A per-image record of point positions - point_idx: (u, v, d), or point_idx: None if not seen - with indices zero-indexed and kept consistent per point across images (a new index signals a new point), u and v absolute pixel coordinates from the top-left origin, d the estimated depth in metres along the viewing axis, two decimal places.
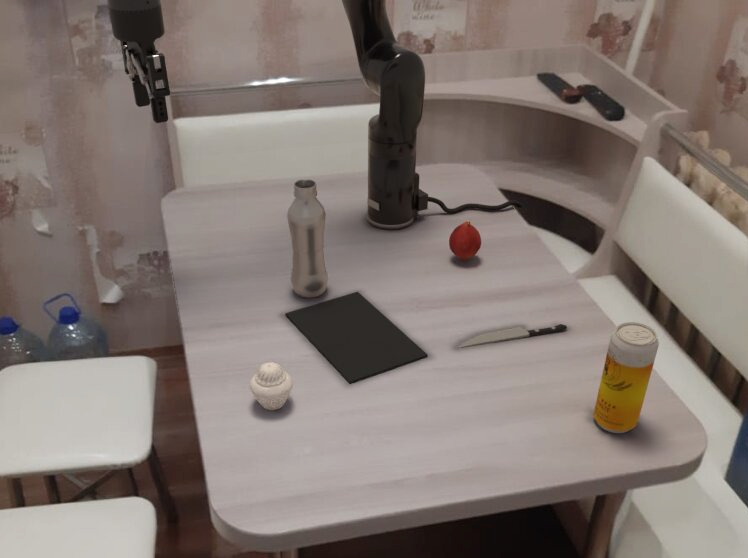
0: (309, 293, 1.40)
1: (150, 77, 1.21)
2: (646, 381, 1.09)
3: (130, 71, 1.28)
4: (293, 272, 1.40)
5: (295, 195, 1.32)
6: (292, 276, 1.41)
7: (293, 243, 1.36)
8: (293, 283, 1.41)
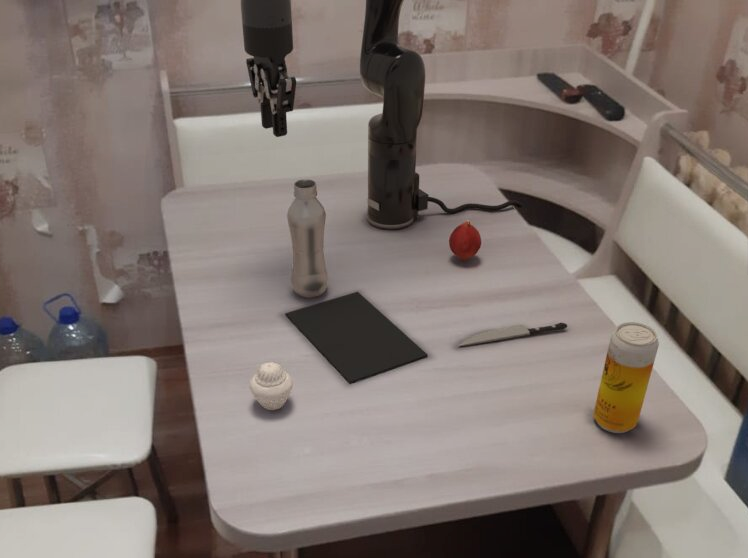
0: (309, 293, 1.40)
1: (279, 97, 1.27)
2: (646, 381, 1.09)
3: (259, 89, 1.32)
4: (293, 272, 1.40)
5: (295, 195, 1.32)
6: (292, 276, 1.41)
7: (293, 243, 1.36)
8: (293, 283, 1.41)
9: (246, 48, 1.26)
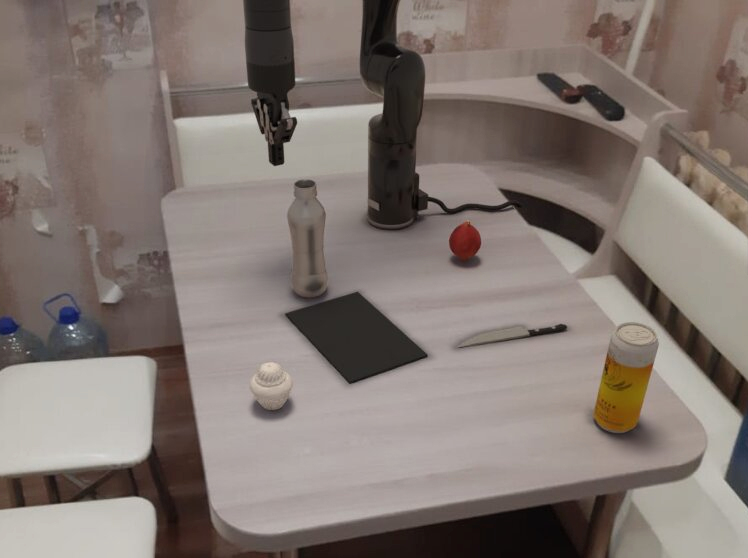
0: (309, 293, 1.40)
1: (278, 132, 1.31)
2: (646, 381, 1.09)
3: (264, 124, 1.34)
4: (293, 272, 1.40)
5: (295, 195, 1.32)
6: (292, 276, 1.41)
7: (293, 243, 1.36)
8: (293, 283, 1.41)
9: (250, 84, 1.29)
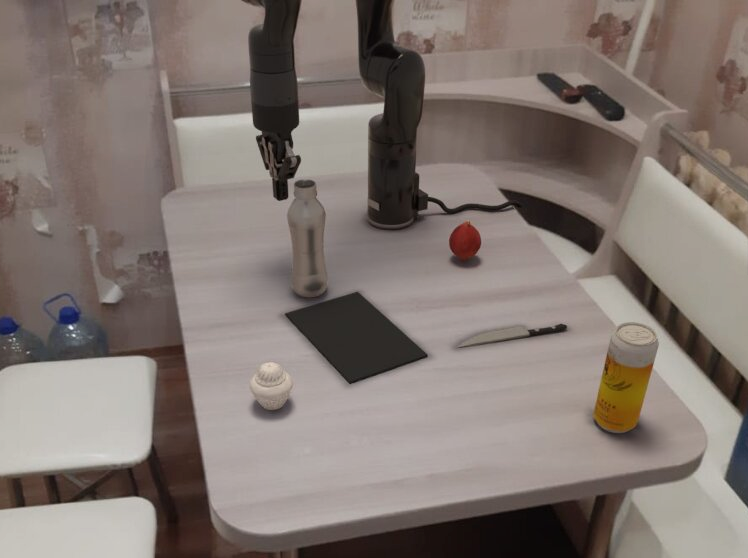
0: (309, 293, 1.40)
1: (282, 169, 1.34)
2: (646, 381, 1.09)
3: (269, 161, 1.37)
4: (293, 272, 1.40)
5: (295, 195, 1.32)
6: (292, 276, 1.41)
7: (293, 243, 1.36)
8: (293, 283, 1.41)
9: (254, 123, 1.32)
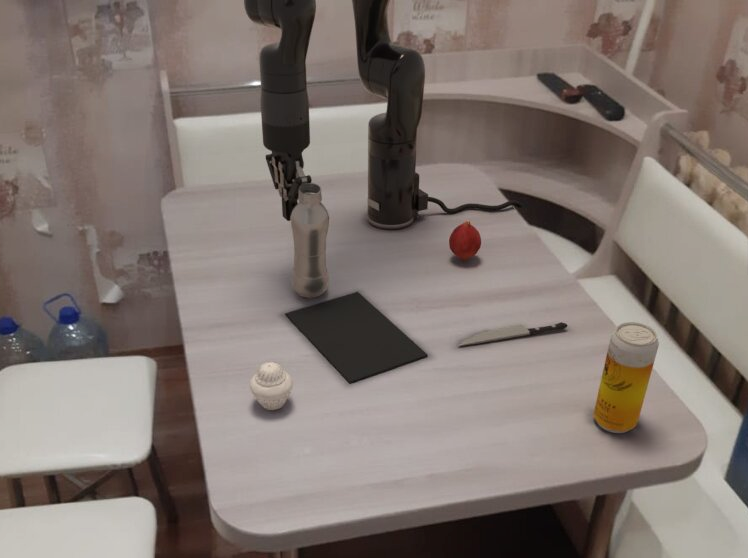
0: (310, 294, 1.40)
1: (292, 190, 1.33)
2: (646, 381, 1.09)
3: (279, 181, 1.36)
4: (294, 272, 1.40)
5: (299, 200, 1.30)
6: (293, 276, 1.40)
7: (295, 245, 1.35)
8: (294, 283, 1.40)
9: (265, 143, 1.30)
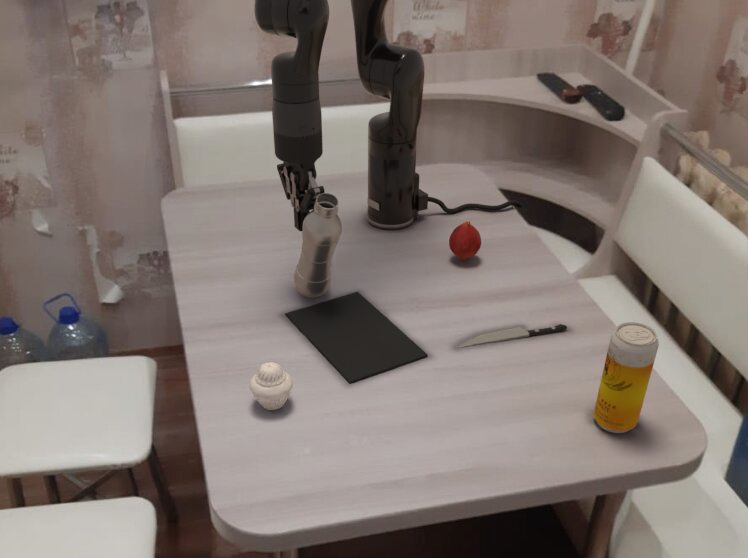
0: (311, 295, 1.40)
1: (305, 201, 1.30)
2: (646, 381, 1.09)
3: (291, 191, 1.33)
4: (298, 272, 1.39)
5: (315, 211, 1.28)
6: (296, 275, 1.39)
7: (304, 250, 1.34)
8: (296, 282, 1.40)
9: (277, 153, 1.28)
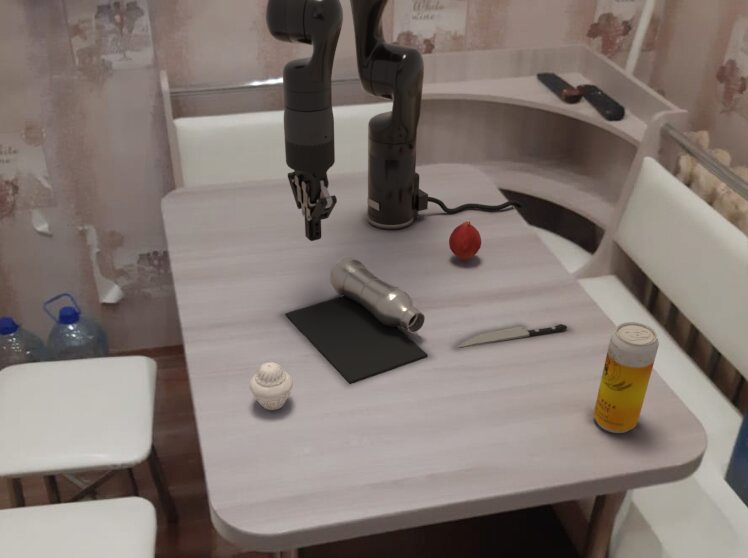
0: (332, 273, 1.39)
1: (317, 210, 1.28)
2: (646, 381, 1.09)
3: (302, 200, 1.31)
4: (357, 267, 1.38)
5: (409, 309, 1.30)
6: (355, 264, 1.38)
7: (376, 282, 1.34)
8: (348, 262, 1.38)
9: (288, 162, 1.25)
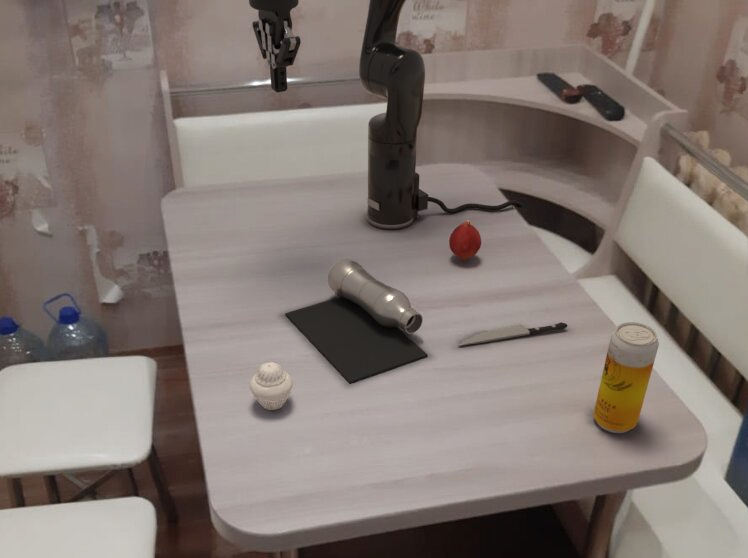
0: (329, 277, 1.39)
1: (281, 53, 1.26)
2: (646, 381, 1.09)
3: (266, 47, 1.29)
4: (353, 269, 1.37)
5: (406, 310, 1.29)
6: (351, 266, 1.38)
7: (372, 284, 1.34)
8: (344, 264, 1.38)
9: (251, 2, 1.24)
